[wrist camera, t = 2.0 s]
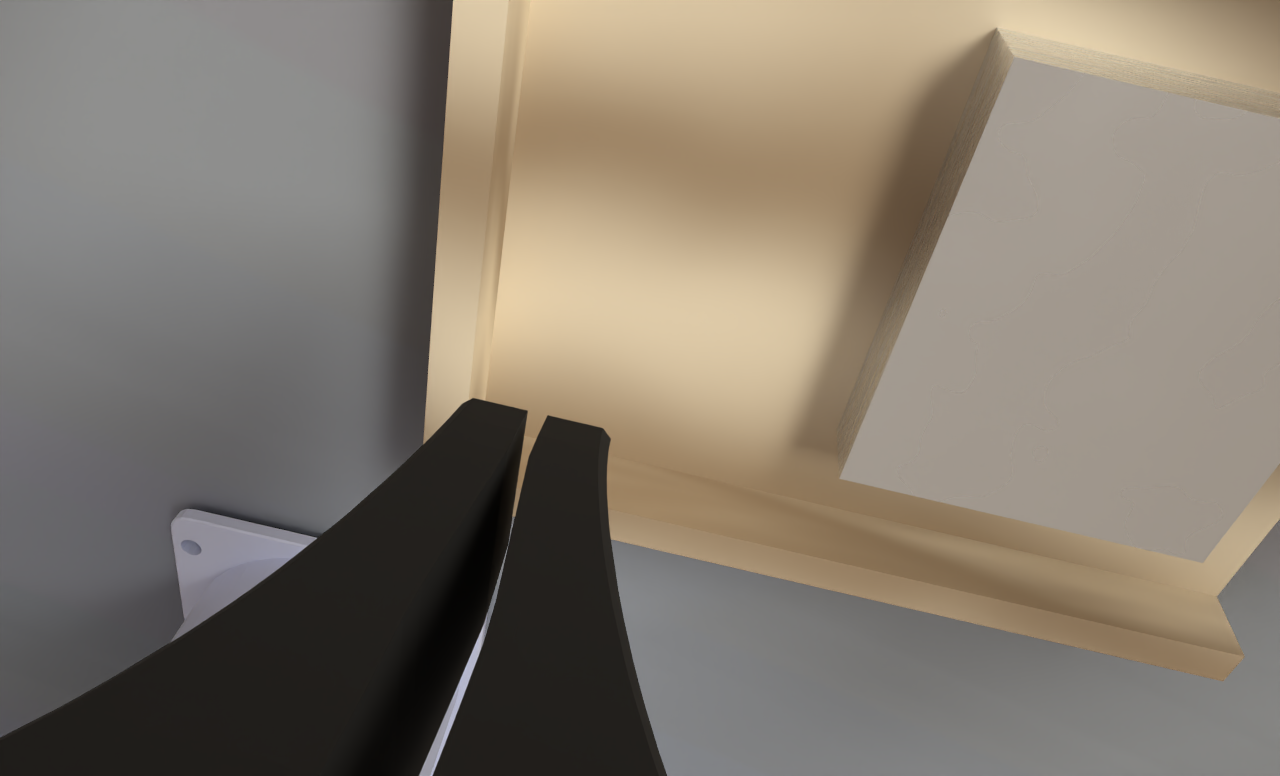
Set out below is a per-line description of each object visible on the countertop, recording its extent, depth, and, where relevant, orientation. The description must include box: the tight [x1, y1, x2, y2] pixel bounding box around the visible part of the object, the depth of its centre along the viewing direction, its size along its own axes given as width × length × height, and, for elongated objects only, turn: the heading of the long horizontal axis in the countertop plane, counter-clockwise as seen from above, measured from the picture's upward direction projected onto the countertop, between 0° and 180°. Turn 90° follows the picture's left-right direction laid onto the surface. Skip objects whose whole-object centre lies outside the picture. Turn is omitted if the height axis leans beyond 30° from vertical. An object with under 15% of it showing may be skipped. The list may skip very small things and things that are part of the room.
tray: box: [423, 0, 1280, 681], centre depth 17 cm, size 14×17×2 cm
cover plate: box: [837, 28, 1280, 563], centre depth 16 cm, size 8×7×2 cm
